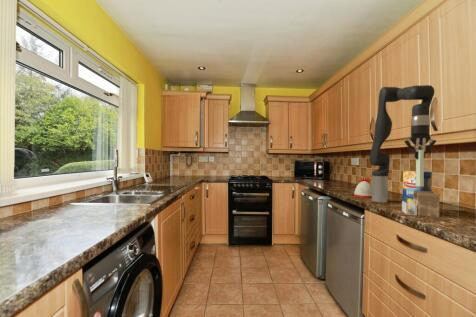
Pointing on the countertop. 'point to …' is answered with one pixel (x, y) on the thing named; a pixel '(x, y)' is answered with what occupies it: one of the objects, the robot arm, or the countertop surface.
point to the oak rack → (426, 203)
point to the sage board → (420, 169)
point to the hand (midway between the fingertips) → (419, 159)
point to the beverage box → (414, 185)
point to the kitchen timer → (363, 189)
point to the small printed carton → (412, 208)
